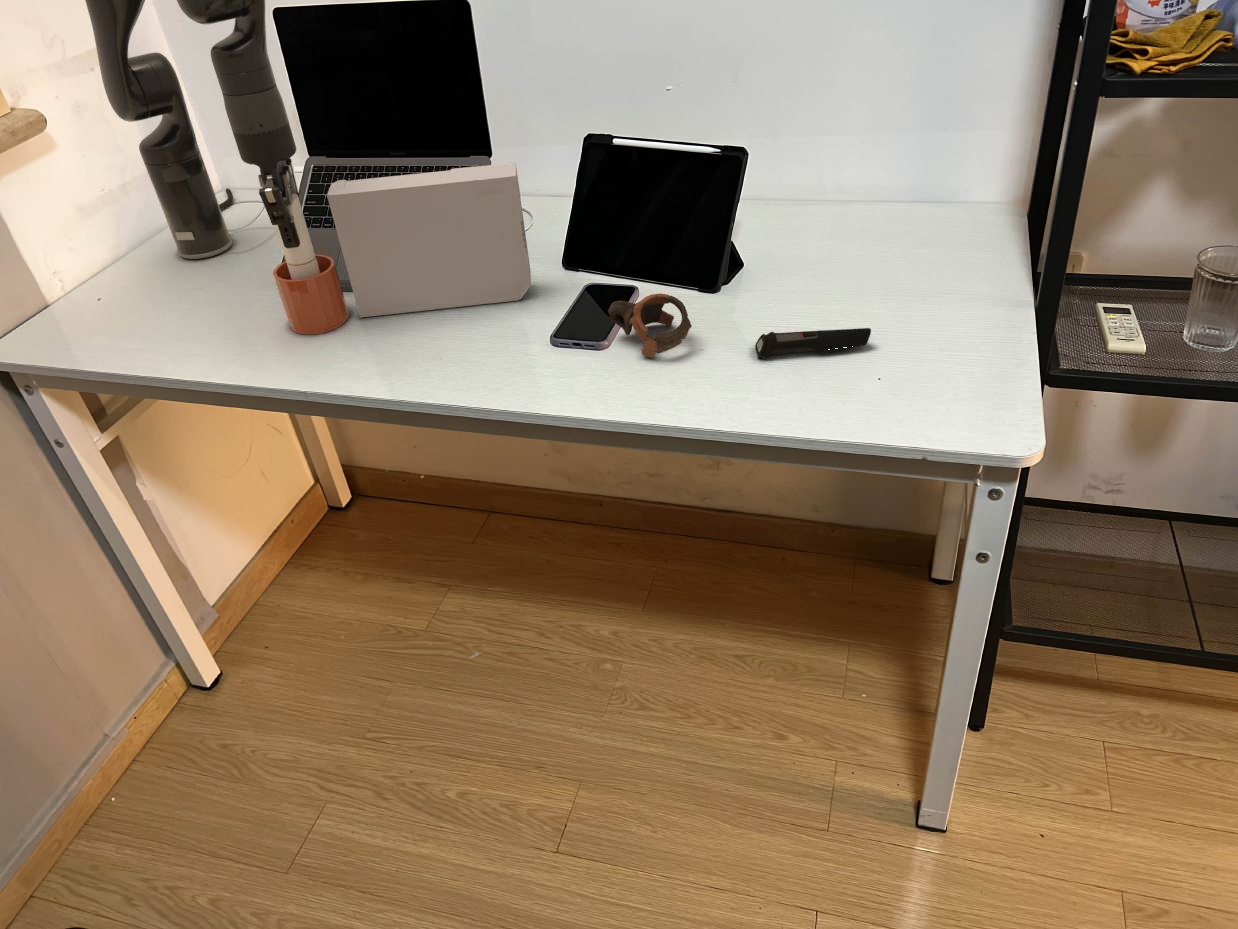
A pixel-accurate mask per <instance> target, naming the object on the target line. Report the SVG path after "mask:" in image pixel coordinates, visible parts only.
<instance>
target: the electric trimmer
mask: <svg viewBox="0 0 1238 929" xmlns="http://www.w3.org/2000/svg"><path fill="white" fill-rule="evenodd" d="M871 335H872V328H870V327H861V328H859V327H858V328H843V329H825V330H824V329H822V330H821V329H819V330H804V331H789V332H774V331H770V332H768V333H767V334H765V333H762V334H761V335H759V338H758V339H757V341H756V342H755V346H754V348H755V349H754V350H755V353H756V357H757V358H762V359H764V360H765V359H767V358H768V357H769V356H770V355H780V354H790V353H791V354H793V353H802V352H812V351H815V352H818V353H821V354H825V353H832V352H838V351H842V350H848V349H854V348H860V347H865V346H866V345H867V344H868V343H869V340H870V338H871ZM861 345H862V346H861ZM852 346H853V347H852ZM843 347H847V348H843ZM835 348H838V349H835ZM828 349H830V350H828Z"/></svg>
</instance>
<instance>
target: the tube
mask: <svg viewBox="0 0 1238 929" xmlns="http://www.w3.org/2000/svg"><path fill="white" fill-rule="evenodd" d="M291 194H292V199H293V204H292V205H291V210H292V215H293V217H294V223H295V227H296V230H297V233H298V237H299V240H300V245H299V247H295V248H286V247H285V246H284V244H283V241H282V237H281V234H280V231H279V228H278V225H274V227H275V231H276V234H277V237H278V241H279V244H280V247H281V249H282V254H283V256H284V260H285V261H286V263H287V266H288V269H289V272H290V276H291V279H292V280H301V279H307V278H311V277H314V276H316V275H319V274H320V270H319V267H318V263H317V260H316V257H315V254H316V253H315V250H314V246H313V243H312V239H311V235H310V233H309V229H308V226H307V222H306V218H305V216H304V212H303V208H302V205H301V202H300V201H301V200H300V197H299V198H298V195H297V194H295V193H291ZM286 198H287V197H284V198H283V200H286ZM278 215H283V213H282V212H280V211H279V212H278Z"/></svg>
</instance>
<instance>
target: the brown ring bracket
mask: <svg viewBox="0 0 1238 929" xmlns="http://www.w3.org/2000/svg"><path fill="white" fill-rule="evenodd" d="M665 304H672V305H673V306H675V307H676V309H678V310H679V312H680V315H681V321H680V324H679V325H678V326H677V327H676V328H675V329H673V330H671V331H669V332H655V333H654V334H655V337H653V336H651V335H650V334H649V328H648V327H647V326H648V325H650V324H661V325H664V326H667V327H672V325H673V321H674V319H675V316H674V315H673V314H670V313H668V312H667V311H665V310H663V308H664V306H665ZM607 313H608V315H609V317H610V319H611V320H612V322H614V324H615V325H617V326H618V327H620V328H621V329H622V330H623V332H624V333H625V336H626V337H629V336H630V334H631V332H632V330H634V332H635V333H636V336H638V338H639V339H640V340H641V341H642V342H643V347H642V349H641V355H642V356H645V357H647V358H648V359H649V358H650V359H652V358H653V357H654V356H656V354H661V353H662V354H663V353H665V352H667V351H669V350H672V349H674V348H676V347H677V346H679V345H681V344H682V341H683V340H685V339H686V337H687V336H688V333H689V331H690V329H691V328H692V326H693V325H692V322H691V321H690V319H689V314H688V310H687V308H686V306H685V304H684V303H683V302H682V301H681V300H680V299H679V298H677V297H675V296H673V295H670V294H666V293H653V294H649V295H647V296H645V297H643V298H642V299H641V300H639V301H638V302H635V303H634V302H629V301H628V300H627V301H626V300H616V301H613V302H612V303H611V304H610V306H609V308H608V310H607Z"/></svg>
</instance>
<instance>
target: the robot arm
mask: <svg viewBox="0 0 1238 929" xmlns="http://www.w3.org/2000/svg"><path fill="white" fill-rule="evenodd" d="M176 1H177V4H178V7H179V8H180V10H181V11H182V13H183V14H185V16H186V17H188V18H189V19H190V20H192V21H193V22H195V23H197V24H200V25H212V24H213V25H214V24H217V23H221V22H226V21H230V20H234V26H233V29H232V32H231V33H230V34H229V35H227V37H225V38H223V39H221V40H219V41H218V42H216V43H215V44H214V45H212V47H211V49H210V59H211V63H212V66H213V68H214V72H215V76H216V78H217V82H218V84H219V88H220V90H221V94H222V98H223V103H224V109H225V112H226V113H225V114H226V116H227V119H228V123H229V125H230V128H231V131H232V135H233V138H234V140H235V144H236V147H237V150H238V153H239V156H240V159H241V161H242V162H244V163H245V164H247V165H251V166H252V165H255V166H257V167H258V168H259V173H260V174H258V177H257V178H258V181H259V186H260V187H261V188H259V189H258V194H259V196H260V199H261V202H262V203H263V206H264V208H265V211H266V213H267V215H268V218H269V220H270V223H271V225H272V226H275V225H278V228H279V231H280V234H281V237H282V241H283V244H284V246H285V247H286V248H295V247H299V245H300V240H299V237H298V233H297V230H296V227H295V223H294V217H293V215H292V210H291V205H292V204H293V199H292V194H291V193H295V194H297V195H298V198H299V199H300V192H299V191H298V186H297V181H296V177H295V171H294V168H293V163H292V157H293V156H294V155H295V154H296V153H297V146H296V142H295V139H294V135H293V132H292V128H291V124H290V121H289V116H288V113H287V110H286V107H285V103H284V100H283V97H282V95H281V93H280V90H279V88H278V85H277V82H276V78H275V74H274V72H273V67H272V64H271V61H270V57H269V54H268V53H269V52H268V45H267V28H266V26H267V25H266V0H176ZM84 2H85V5H86V8H87V12H88V16H89V19H90V24H91V27H92V32H93V37H94V42H95V48H96V53H97V54H96V55H97V59H98V66H99V71H100V76H101V80H102V84H103V85H102V86H103V89H104V92H105V94H106V97H107V100H108V102H109V104H110V106H111V108H112V110H113V111H114V113H115V114H116V115H117V117H119V119H121V120H123V121H125V122H129V123H133V122H139V121H144V120H148V119H151V118H155V117H158V116H159V117H160V116H161V119H160V122H159V124H158V125H157V126H156V128H155V129H153V131H151V132H150V133H149V134H148V135H146V136H145V137H144V138H143V139H141V141H140V143H139V144H138V150H139V153H140V156H141V159H142V162H143V163H144V167H145V168H146V169H145V170H146V171H147V174H148V177H149V179H150V181H151V184H152V186H153V189H154V191H155V194H156V197H157V200H158V202H159V204H160V205H159V206H160V207H161V210H162V212H163V214H164V215H163V216H164V217H165V220H166V223H167V225H168V228H169V231H170V233H171V236H172V238H173V241H174V243H175V246H176V249H177V253H178V255H179V257H181V258H182V259H187V260H200V259H202V260H203V259H207V258H211V257H214V256H218V255H220V254H223V253H224V252H226V251H227V250H228V249H230V248H231V247H232V245H233V240H232V237H231V236H230V234H229V233H230V232H229V230H228V228H227V225H226V224H227V223H226V222H225V218H224V216H223V212H222V210H223V209H225V208H227V207H229V205H231V204H232V202H233V200H234V196H233V192H232V190H231V189H230V188H228V187H227V188H226V189H225V193H226V195H227V199H226V200H224V201H223V202H221V203H219V201H218V198H217V196H216V193H215V190H214V187H213V184H212V182H211V178H210V176H209V173H208V170H207V168H206V164H205V162H204V159H203V156H202V153H201V150H200V147H199V144H198V141H197V136H196V132H195V129H194V126H193V123H192V120H191V116H190V113H189V110H188V107H187V104H186V100H185V97H184V93H183V89H182V86H181V84H180V80H179V77H178V75H177V73H176V70H175V68H174V67H173V65H172V63H171V62H170V60H169V59H168V58H167V56H165V55H164V54H162V53H160V52H149V53H145V54H141V55H140V54H139V55H135V56H131V57H129V44H130V40H131V35H132V33H133V30H134V28H135V26H136V24H137V21H138V19H139V17H140V15H141V12H142V10H143V7H144V4H145V2H146V0H84ZM284 197H287V198H286V200H283V198H284ZM279 211H280V212H282V213H283V215H278V212H279Z"/></svg>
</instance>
